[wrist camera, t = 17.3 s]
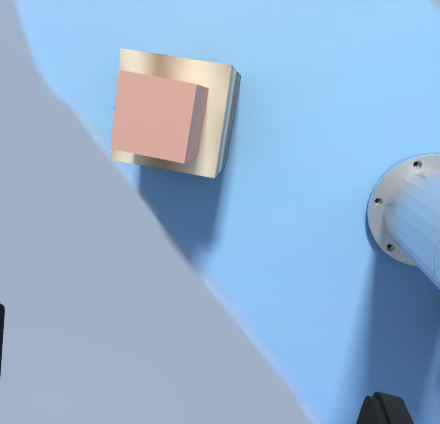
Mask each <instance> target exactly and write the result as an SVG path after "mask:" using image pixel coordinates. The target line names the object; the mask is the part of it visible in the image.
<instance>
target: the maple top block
mask: <svg viewBox="0 0 440 424" xmlns="http://www.w3.org/2000/svg"><path fill="white" fill-rule="evenodd" d="M119 70H123V71H129V72H134V73H140V74H145V75H150V76H156V77H161V78H166V79H172V80H177V81H183V82H188V83H193V84H198V85H201V86H204V87H206V88H209V90H208V96H207V102H206V108H205V114H204V120H203V126H202V132H201V138H200V144H199V150H198V155H197V156H196V157H194V158H193V159H191V160H189V161H188V162H186V163H179V162H174V161H169V160H164V159H159V158H154V157H149V156H144V155H139V154H134V153H129V152H124V151H119V150H114V149H112V154H111V160H113V161H119V162H125V163H130V164H136V165H142V166H147V167H153V168H159V169H165V170H170V171H176V172H182V173H188V174H193V175H199V176H205V177H211V178H215V177H216V176H217V175H218V174H219V172H220V171H221V168H222V161H223V155H224V148H225V142H226V136H227V129H228V123H229V116H230V110H231V104H232V97H233V91H234V84H235V78H236V69H235V68H234V67H233V66H232V65H227V64H220V63H214V62H207V61H200V60H194V59H187V58H181V57H174V56H168V55H161V54H154V53H148V52H141V51H135V50H128V49H120V61H119ZM118 76H119V73H118ZM117 85H118V84H117Z"/></svg>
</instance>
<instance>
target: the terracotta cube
mask: <svg viewBox="0 0 440 424" xmlns="http://www.w3.org/2000/svg"><path fill="white" fill-rule="evenodd" d="M208 90H209V88H206V87H204V86H201V85H198V84H193V83H188V82H183V81H177V80H172V79H166V78H161V77H156V76H150V75H145V74H140V73H134V72H129V71H123V70H119V76H118V85H117V94H116V103H115V112H114V121H113V130H112V139H111V148H110V149H114V150H119V151H124V152H129V153H134V154H139V155H144V156H149V157H154V158H159V159H164V160H169V161H174V162H179V163H186V162H188V161H189V160H191V159H193V158H194V157H196V156H197V155H198V150H199V144H200V138H201V132H202V126H203V120H204V114H205V108H206V102H207V96H208Z"/></svg>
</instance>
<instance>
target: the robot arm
mask: <svg viewBox="0 0 440 424" xmlns="http://www.w3.org/2000/svg"><path fill="white" fill-rule="evenodd" d="M414 162H417V165H416V166H414V165H413V164H414ZM377 198H378V199H379V201H378V202H375V199H377ZM367 217H368V224H369V228H370V232H371V234H372V236H373V238H374V239H375V241H376V242H377V244H378V245H379V246H380V248H381V249H382V250H383V251H384V252H385V253H386V254H388V255H389V256H391V257H392V258H394V259H395V260H397V261H400V262H402V263H404V264H408V265H412V266H418V267H419V268H420V269H421V270H422V272H423V273H424V274H425V275H426V276H427V277H428V278H429V279H430V280H431V281H432V282H433V283H434V284H435V285H436V286H437V287H438V289H439V290H440V154H424V155H418V156H414V157H411V158H408V159H405V160H403V161H402V162H400V163H398V164H396V165H394V166H393V167H392V168H391V169H389V170H388V171H387V172H386V173H385V174H384V175H383V176H382V177H381V178H380V180H379V181H378V182H377V184H376V186H375V187H374V189H373V191H372V193H371V196H370V199H369V202H368V209H367ZM389 244H391V246H390V247H387V245H389ZM4 315H5V308H4V306H3V305H2V304H0V372H1V359H2V344H3V329H4ZM0 374H1V373H0ZM356 424H414V423H413V421H412V419H411V417H410V414H409V412H408V410H407V408H406V406H405V404H404V401H403V400H402V398H400V397H397V396H393V395H389V394H385V393H381V392H375V393H374V395H373V397H371V396H366V398H365V400H364V402H363V405H362V408H361V411H360V414H359V417H358V420H357V423H356Z"/></svg>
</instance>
